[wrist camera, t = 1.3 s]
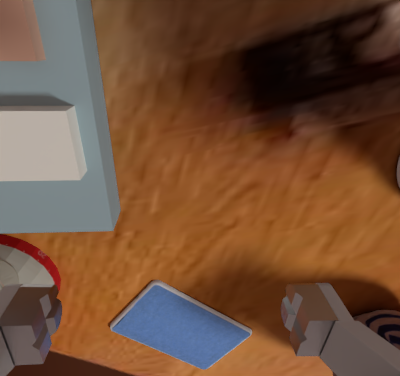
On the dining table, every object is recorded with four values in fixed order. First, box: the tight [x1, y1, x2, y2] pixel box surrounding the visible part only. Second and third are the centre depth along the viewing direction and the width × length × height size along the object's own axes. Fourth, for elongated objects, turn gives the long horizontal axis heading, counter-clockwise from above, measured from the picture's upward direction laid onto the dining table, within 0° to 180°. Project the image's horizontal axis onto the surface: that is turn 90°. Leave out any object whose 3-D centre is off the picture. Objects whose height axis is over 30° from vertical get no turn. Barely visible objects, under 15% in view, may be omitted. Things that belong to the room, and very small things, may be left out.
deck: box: [0, 0, 121, 233], centre depth 26 cm, size 14×22×4 cm, turn 179°
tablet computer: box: [110, 280, 252, 369], centre depth 44 cm, size 19×13×1 cm, turn 51°
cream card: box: [0, 106, 87, 181], centre depth 24 cm, size 9×6×2 cm, turn 89°
